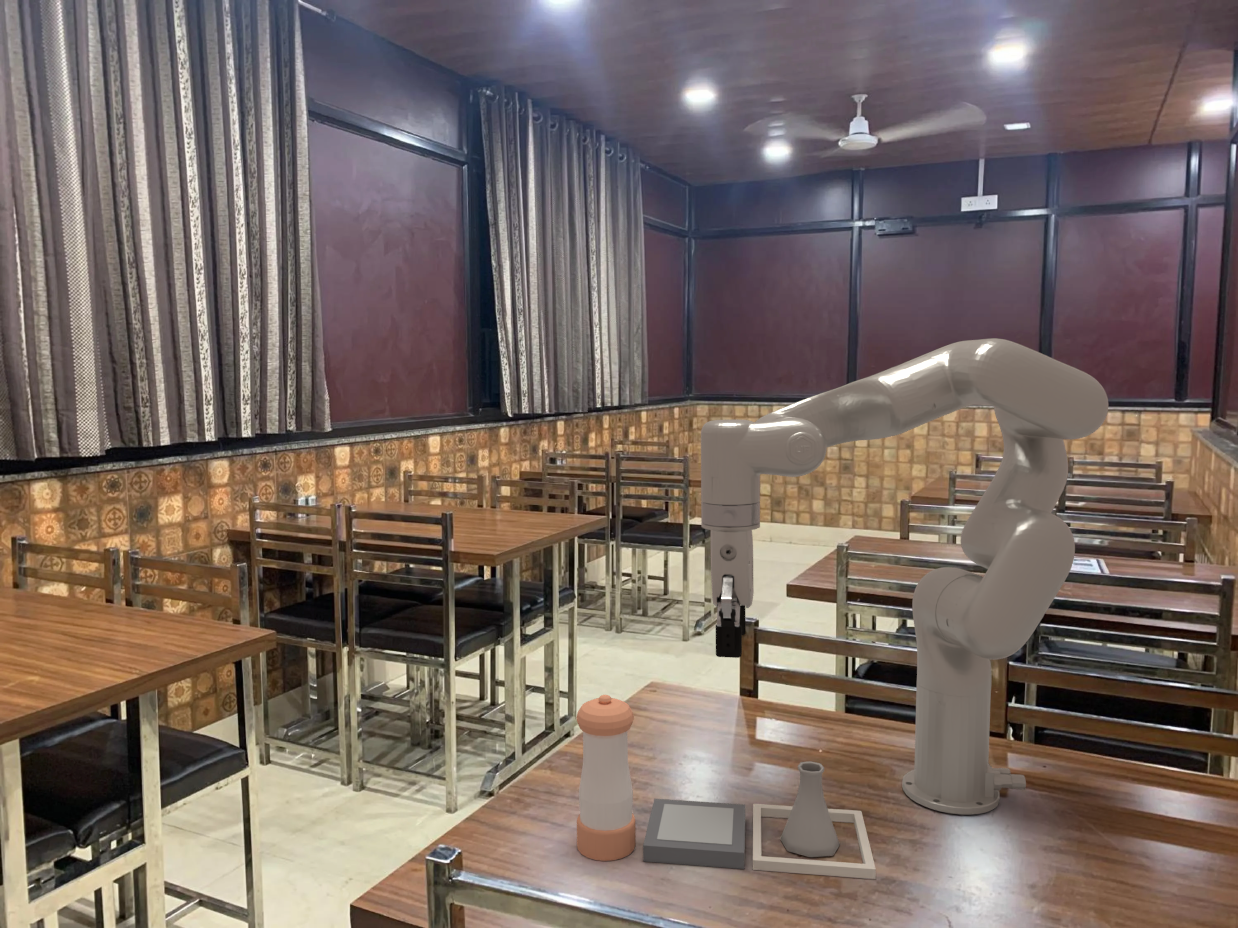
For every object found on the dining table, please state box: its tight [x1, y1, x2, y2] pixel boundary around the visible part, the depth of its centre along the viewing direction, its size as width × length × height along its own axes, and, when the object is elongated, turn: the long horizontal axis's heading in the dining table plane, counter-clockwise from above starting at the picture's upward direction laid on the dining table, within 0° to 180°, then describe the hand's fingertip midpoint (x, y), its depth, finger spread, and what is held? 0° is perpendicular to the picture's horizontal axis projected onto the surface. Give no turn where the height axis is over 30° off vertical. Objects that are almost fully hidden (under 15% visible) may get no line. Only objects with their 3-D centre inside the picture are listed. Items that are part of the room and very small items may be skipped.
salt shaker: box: [575, 694, 637, 862], centre depth 108 cm, size 7×7×19 cm
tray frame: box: [752, 803, 877, 880], centre depth 109 cm, size 14×14×1 cm
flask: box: [779, 760, 841, 858], centre depth 109 cm, size 7×7×10 cm
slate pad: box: [642, 798, 746, 870], centre depth 111 cm, size 12×12×2 cm
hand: (731, 644), depth 115 cm, fingers open, 9 cm apart
